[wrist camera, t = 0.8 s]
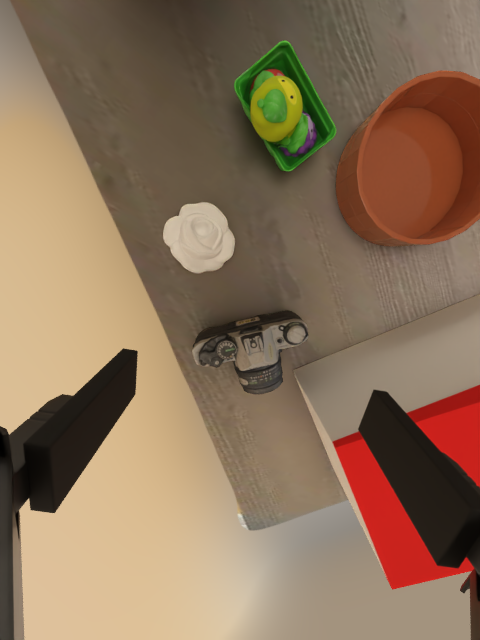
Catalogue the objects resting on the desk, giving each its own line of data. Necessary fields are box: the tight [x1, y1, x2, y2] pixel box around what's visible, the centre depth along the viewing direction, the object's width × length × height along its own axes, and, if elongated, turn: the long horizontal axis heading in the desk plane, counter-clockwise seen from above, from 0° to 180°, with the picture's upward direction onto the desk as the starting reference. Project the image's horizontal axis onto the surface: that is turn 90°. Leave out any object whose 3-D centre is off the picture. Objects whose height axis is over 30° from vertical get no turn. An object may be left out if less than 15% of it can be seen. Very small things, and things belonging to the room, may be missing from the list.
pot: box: [336, 71, 480, 247], centre depth 34 cm, size 18×18×6 cm
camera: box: [192, 311, 308, 394], centre depth 37 cm, size 16×10×10 cm, turn 104°
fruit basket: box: [234, 41, 336, 171], centre depth 29 cm, size 11×9×11 cm
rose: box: [163, 202, 235, 273], centre depth 36 cm, size 10×4×10 cm
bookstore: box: [293, 294, 480, 589], centre depth 34 cm, size 21×35×21 cm, turn 113°
